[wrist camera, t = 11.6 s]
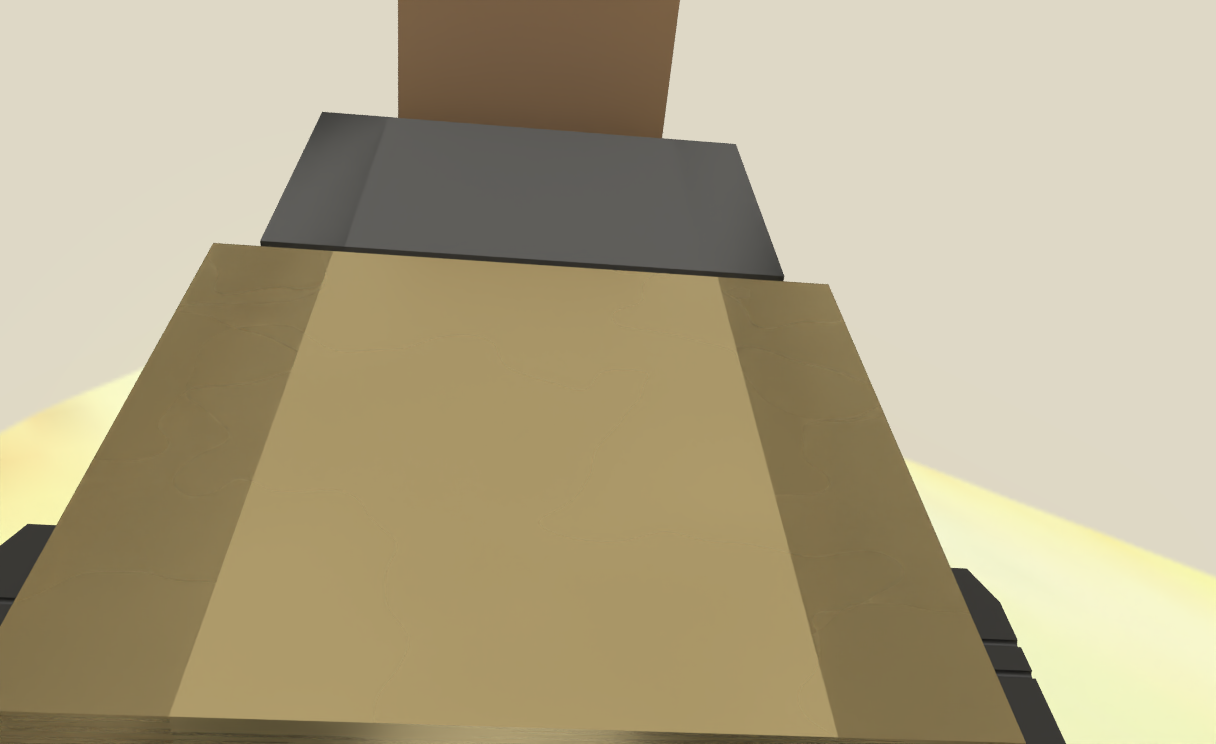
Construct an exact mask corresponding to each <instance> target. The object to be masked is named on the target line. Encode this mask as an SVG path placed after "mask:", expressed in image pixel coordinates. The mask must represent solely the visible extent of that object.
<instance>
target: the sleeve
mask: <svg viewBox="0 0 1216 744" xmlns="http://www.w3.org/2000/svg"><path fill="white" fill-rule="evenodd" d="M0 744H1026V742H1025V740H1024V737H1023V735H1022V733H1021V730H1020V728H1019V726H1018V723H1017V721H1016V719H1015V716H1014V714H1013V712H1012V709H1011V707H1010V705H1009V702H1008V700H1007V698H1006V695H1005V693H1004V691H1003V688H1002V686H1001V684H1000V682H999V679H998V677H997V675H996V672H995V670H994V668H993V665H992V663H991V661H990V658H989V656H988V654H987V651H986V649H985V647H984V644H983V642H982V640H981V637H980V635H979V633H978V630H977V628H976V626H975V624H974V621H973V619H972V617H971V614H970V612H969V610H968V607H967V605H966V603H965V600H964V598H963V596H962V593H961V591H960V589H959V586H958V584H957V582H956V579H955V577H954V575H953V572H952V570H951V568H950V566H949V563H948V561H947V559H946V556H945V554H944V552H943V549H942V547H941V545H940V542H939V540H938V538H937V535H936V533H935V531H934V528H933V526H932V524H931V521H930V519H929V517H928V514H927V512H926V510H925V508H924V505H923V503H922V501H921V498H920V496H919V494H918V491H917V489H916V487H915V484H914V482H913V480H912V477H911V475H910V473H909V470H908V468H907V466H906V463H905V461H904V459H903V456H902V454H901V452H900V450H899V447H898V445H897V443H896V440H895V438H894V436H893V434H892V431H891V429H890V427H889V424H888V422H887V420H886V417H885V415H884V413H883V410H882V408H881V405H880V403H879V401H878V398H877V396H876V394H875V392H874V389H873V387H872V385H871V382H870V380H869V378H868V375H867V373H866V371H865V368H864V366H863V364H862V361H861V359H860V357H859V354H858V352H857V350H856V347H855V345H854V343H853V340H852V338H851V336H850V334H849V331H848V329H847V327H846V324H845V322H844V320H843V317H842V315H841V313H840V310H839V308H838V306H837V304H836V301H835V299H834V296H833V294H832V292H831V290H830V287H829V285H828V284H814V283H798V282H784V281H770V280H755V279H740V278H725V277H710V276H695V275H680V274H666V273H651V272H636V271H621V270H606V269H591V268H576V267H562V266H547V265H532V264H517V263H502V262H487V261H472V260H458V259H443V258H428V257H413V256H398V255H383V254H368V253H354V252H339V251H324V250H309V249H294V248H279V247H264V246H249V245H235V244H220V243H213V245H212V247H211V248H210V250H209V252H208V254H207V256H206V257H205V259H204V261H203V263H202V265H201V266H200V268H199V270H198V272H197V274H196V275H195V278H194V279H193V281H192V283H191V284H190V286H189V288H188V290H187V291H186V293H185V295H184V297H183V299H182V301H181V302H180V304H179V306H178V308H177V309H176V312H175V313H174V315H173V317H172V319H171V320H170V322H169V324H168V326H167V328H166V329H165V331H164V333H163V335H162V337H161V338H160V340H159V342H158V344H157V345H156V347H155V349H154V351H153V353H152V354H151V356H150V358H149V360H148V362H147V363H146V365H145V367H144V369H143V371H142V372H141V374H140V376H139V378H138V380H137V381H136V383H135V385H134V387H133V389H132V390H131V392H130V394H129V396H128V398H127V399H126V401H125V403H124V405H123V407H122V408H121V410H120V412H119V414H118V416H117V417H116V419H115V421H114V423H113V425H112V426H111V428H110V430H109V432H108V434H107V435H106V437H105V439H104V441H103V442H102V444H101V446H100V448H99V450H98V451H97V453H96V455H95V457H94V459H93V460H92V462H91V464H90V466H89V468H88V469H87V471H86V473H85V475H84V477H83V478H82V480H81V482H80V484H79V486H78V487H77V489H76V491H75V493H74V495H73V496H72V498H71V500H70V502H69V504H68V505H67V507H66V509H65V511H64V513H63V514H62V516H61V518H60V520H59V522H58V523H57V525H56V527H55V529H54V531H53V532H52V534H51V536H50V538H49V540H48V541H47V543H46V545H45V547H44V549H43V550H42V552H41V554H40V556H39V558H38V559H37V561H36V563H35V565H34V567H33V568H32V570H31V572H30V574H29V576H28V577H27V579H26V581H25V583H24V584H23V586H22V588H21V590H20V592H19V593H18V595H17V597H16V599H15V601H14V602H13V604H12V606H11V608H10V610H9V611H8V613H7V615H6V617H5V619H4V620H3V622H2V624H1V626H0Z"/></svg>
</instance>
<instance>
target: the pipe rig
mask: <svg viewBox="0 0 1216 744" xmlns="http://www.w3.org/2000/svg"><path fill="white" fill-rule="evenodd" d="M679 2H680V0H398V118H406V119H419V120H432V121H445V122H458V123H470V124H483V125H496V126H509V127H522V128H534V129H547V130H560V131H573V132H586V133H599V134H611V135H624V136H637V137H650V138H662V133H663V125H664V118H665V111H666V103H667V95H668V87H669V80H670V72H671V64H672V57H673V49H674V41H675V33H676V26H677V17H678V10H679Z"/></svg>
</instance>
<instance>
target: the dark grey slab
mask: <svg viewBox="0 0 1216 744" xmlns="http://www.w3.org/2000/svg"><path fill="white" fill-rule="evenodd" d="M260 243H261V246H264V247H279V248H294V249H309V250H324V251H339V252H354V253H368V254H383V255H398V256H413V257H428V258H443V259H458V260H472V261H487V262H502V263H517V264H532V265H547V266H562V267H576V268H591V269H606V270H621V271H636V272H651V273H666V274H680V275H695V276H710V277H725V278H740V279H755V280H770V281H783V280H784V274H783V272H782V269H781V266H780V263H779V261H778V258H777V255H776V252H775V250H774V247H773V244H772V242H771V239H770V236H769V233H768V231H767V228H766V226H765V223H764V220H763V217H762V214H761V212H760V209H759V206H758V204H757V201H756V198H755V195H754V193H753V190H752V187H751V184H750V182H749V179H748V176H747V174H746V171H745V168H744V165H743V163H742V160H741V157H740V154H739V152H738V149H737V146H736V144H727V143H713V142H700V141H688V140H676V139H675V140H674V139H663V138H650V137H637V136H624V135H611V134H599V133H586V132H573V131H560V130H547V129H534V128H522V127H509V126H496V125H483V124H470V123H458V122H445V121H432V120H419V119H406V118H393V117H379V116H368V115H355V114H342V113H328V112H322V114H321V116H320V118H319V120H318V122H317V124H316V126H315V128H314V130H313V132H312V134H311V136H310V139H309V141H308V143H307V145H306V147H305V149H304V151H303V153H302V155H301V157H300V159H299V162H298V164H297V166H296V168H295V170H294V172H293V174H292V176H291V178H290V180H289V182H288V184H287V186H286V188H285V191H284V193H283V195H282V197H281V199H280V201H279V203H278V205H277V207H276V209H275V211H274V213H273V216H272V218H271V220H270V222H269V224H268V226H267V228H266V230H265V232H264V234H263V236H262V239H261V241H260Z"/></svg>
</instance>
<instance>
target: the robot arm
mask: <svg viewBox="0 0 1216 744" xmlns="http://www.w3.org/2000/svg"><path fill="white" fill-rule="evenodd" d="M55 527H56V525H38V524H27V525H26V526H25V527H23V528H22V529H21V530H20V531H18V532H17V533H16V534H15V535H13V536H12V537H11V538H9V539H8V540H7V541H6V542H4V543H3V544H2V545H1V546H0V626H1V624H2V622H3V620H4V619H5V617H6V615H7V613H8V611H9V610H10V608H11V606H12V604H13V602H14V601H15V599H16V597H17V595H18V593H19V592H20V590H21V588H22V586H23V584H24V583H25V581H26V579H27V577H28V576H29V574H30V572H31V570H32V568H33V567H34V565H35V563H36V561H37V559H38V558H39V556H40V554H41V552H42V550H43V549H44V547H45V545H46V543H47V541H48V540H49V538H50V536H51V534H52V532H53V531H54V529H55ZM951 570H952V572H953V575H954V577H955V579H956V582H957V584H958V586H959V589H960V591H961V593H962V596H963V598H964V600H965V603H966V605H967V607H968V610H969V612H970V614H971V617H972V619H973V621H974V624H975V626H976V628H977V630H978V633H979V635H980V637H981V640H982V642H983V644H984V647H985V649H986V651H987V654H988V656H989V658H990V661H991V663H992V665H993V668H994V670H995V672H996V675H997V677H998V679H999V682H1000V684H1001V686H1002V688H1003V691H1004V693H1005V695H1006V698H1007V700H1008V702H1009V705H1010V707H1011V709H1012V712H1013V714H1014V716H1015V719H1016V721H1017V723H1018V726H1019V728H1020V730H1021V733H1022V735H1023V737H1024V740H1025V742H1026V744H1066V743H1065V741H1064V738H1063V736H1062V734H1061V732H1060V730H1059V728H1058V726H1057V723H1056V721H1055V719H1054V717H1053V715H1052V713H1051V711H1050V708H1049V706H1048V704H1047V702H1046V700H1045V698H1044V696H1043V694H1042V691H1041V689H1040V687H1039V685H1038V683H1037V681H1036V679H1032V676H1031V672H1032V670H1031V668H1030V666H1029V664H1028V661H1027V659H1026V657H1025V655H1024V653H1023V651H1022V649H1021V647H1018V646H1017V638H1016V636H1015V634H1014V631H1013V629H1012V627H1011V625H1010V623H1009V621H1008V619H1007V616H1006V614H1005V612H1004V610H1003V608H1002V606H1001V604H1000V602H999V601H998V600H997V599H996V598H995V597H994V596H993V595H992V594H991V593H990V592H989V591H988V590H987V589H986V588H985V587H984V586H983V585H982V584H981V583H980V582H979V581H978V580H977V579H976V578H975V577H974V576H973V575H972V574H971V572H970V571H969V570H968V569H963V568H951Z"/></svg>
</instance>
